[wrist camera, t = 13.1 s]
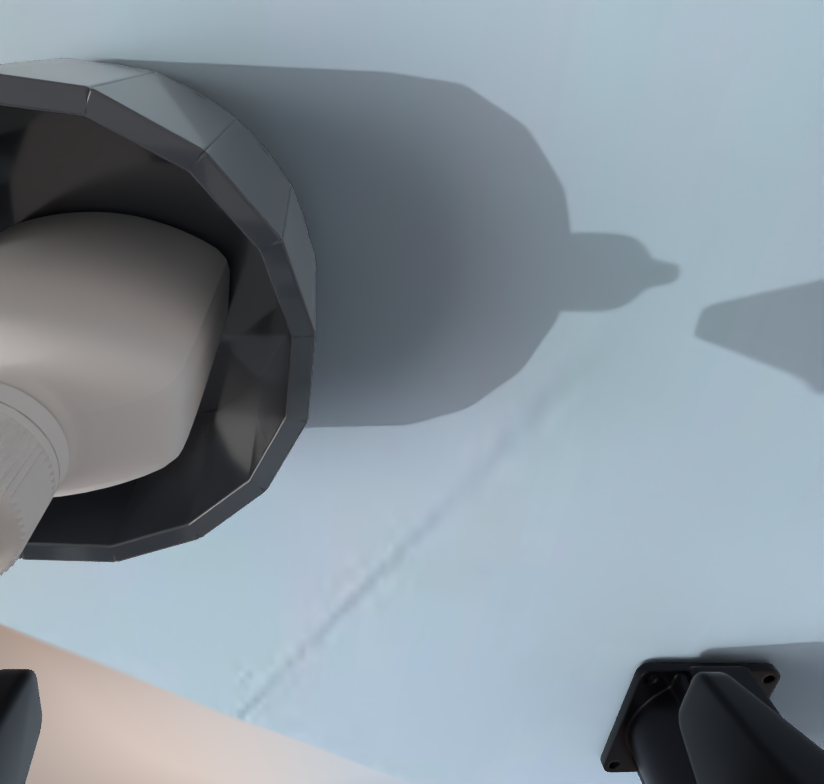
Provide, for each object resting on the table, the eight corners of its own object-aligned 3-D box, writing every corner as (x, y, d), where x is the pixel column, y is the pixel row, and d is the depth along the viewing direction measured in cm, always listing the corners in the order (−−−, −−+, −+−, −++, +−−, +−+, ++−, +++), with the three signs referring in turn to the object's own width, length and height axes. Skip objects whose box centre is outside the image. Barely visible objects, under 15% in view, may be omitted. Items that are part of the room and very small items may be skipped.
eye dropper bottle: (176, 388, 20) (20, 783, 9) (-19, 278, 18) (-498, 629, 7) (259, 271, 19) (185, 577, 8) (60, 138, 17) (-384, 319, 6)
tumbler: (299, 440, 22) (294, 568, 17) (-52, 418, 20) (-184, 554, 15) (329, 95, 17) (335, 121, 12) (-121, 28, 16) (-344, 24, 10)
